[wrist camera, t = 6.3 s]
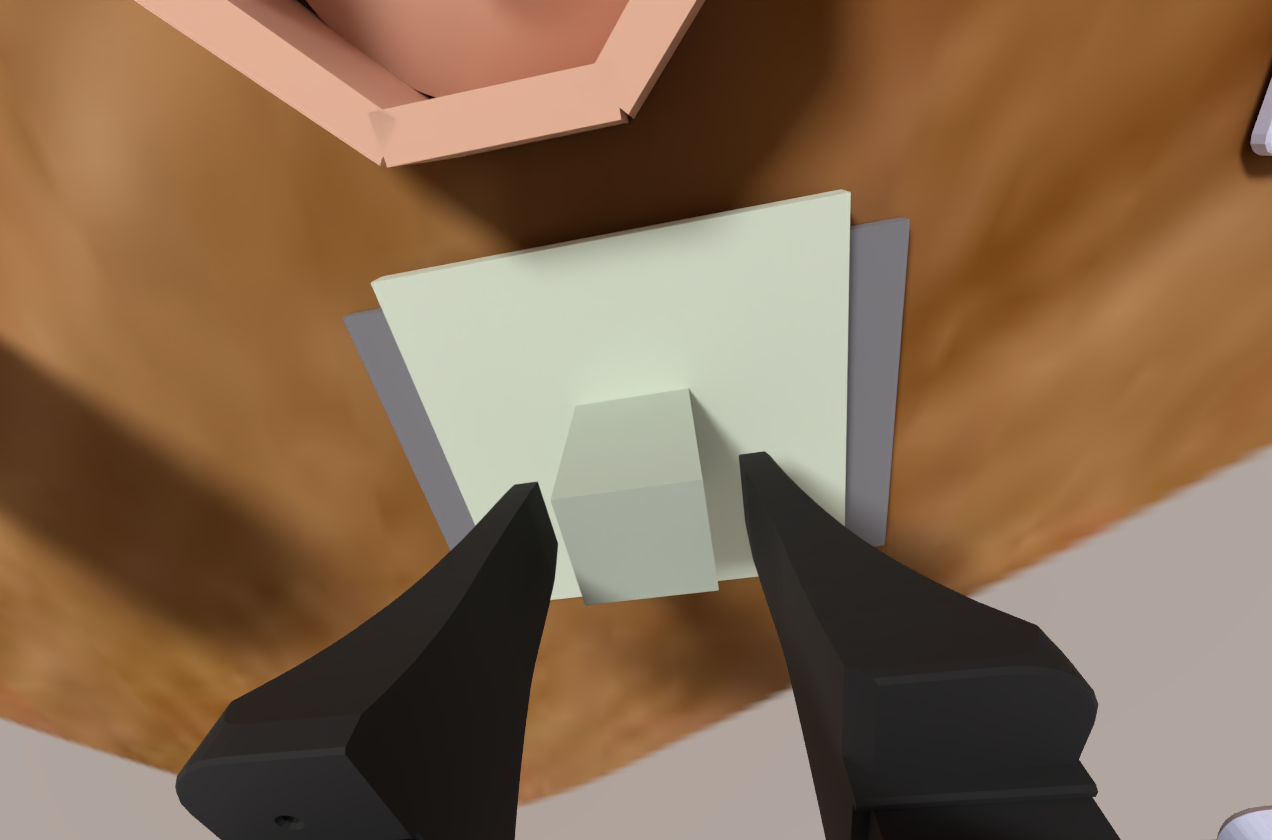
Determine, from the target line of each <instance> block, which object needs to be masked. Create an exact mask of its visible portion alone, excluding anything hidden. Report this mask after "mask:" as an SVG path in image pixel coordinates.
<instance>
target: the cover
mask: <svg viewBox="0 0 1272 840" xmlns="http://www.w3.org/2000/svg"><path fill="white" fill-rule="evenodd" d="M850 196H851V192H848V191H845V190H842V189H841V190H835V191H830V192H825V193H820V194H814V195H809V196H804V197H799V198H793V199H788V200H783V201H778V202H772V203H767V204H762V205H756V206H751V207H746V208H741V209H735V210H730V211H725V212H720V213H714V214H709V215H704V216H699V217H693V218H688V219H683V220H677V221H672V222H667V223H662V224H656V225H651V226H646V227H641V228H635V229H630V230H625V231H619V232H614V233H609V234H604V235H598V236H593V237H588V238H583V239H577V240H572V241H567V242H562V243H556V244H551V245H546V246H540V247H535V248H530V249H525V250H519V251H514V252H509V253H504V254H498V255H493V256H488V257H482V258H477V259H472V260H467V261H461V262H456V263H451V264H446V265H440V266H435V267H430V268H425V269H419V270H414V271H409V272H403V273H398V274H393V275H388V276H382V277H380V278H378V279H377V280H375V281H373V282H371V285H372V287H373V290H374V292H375V294H376V297H377V299H378V301H379V304H380V306H381V308H382V310H383V313H384V315H385V317H386V320H387V322H388V324H389V327H390V329H391V331H392V334H393V336H394V338H395V341H396V343H397V345H398V348H399V350H400V352H401V354H402V357H403V359H404V361H405V364H406V366H407V368H408V371H409V373H410V375H411V378H412V380H413V382H414V385H415V387H416V389H417V392H418V394H419V396H420V399H421V401H422V403H423V405H424V408H425V410H426V412H427V415H428V417H429V419H430V422H431V424H432V426H433V429H434V431H435V433H436V436H437V438H438V440H439V443H440V445H441V447H442V449H443V452H444V454H445V456H446V459H447V461H448V463H449V466H450V468H451V470H452V473H453V475H454V477H455V480H456V482H457V484H458V487H459V489H460V491H461V494H462V496H463V498H464V500H465V503H466V505H467V507H468V510H469V512H470V514H471V517H472V519H473V521H474V524H475V526H476V524H477V523H478V522H479V521H480V520H481V519H482V518H483V517H484V516H485V515H486V514H487V513H488V512H489V511H490V509H491V508H492V507H493V506H494V505H495V504H496V503H497V502H498V501H499V500H500V499H501V497H502V496H503V495H504V494H505V493H506V492H507V491H508V490H509V489H510V488H511V487H512V486H513V485H515V484H523V483H530V482H538V484H539V487H540V490H541V493H542V496H543V499H544V502H545V505H546V508H547V511H548V514H549V517H550V520H551V523H552V526H553V529H554V532H555V536H556V539H557V542H558V552H557V564H556V573H555V581H554V586H553V591H552V595H551V599H550V600H555V599H564V598H573V597H581V596H582V597H583V600H584V603H585V605H592V604H601V603H610V602H619V601H628V600H637V599H645V598H654V597H663V596H672V595H681V594H690V593H699V592H708V591H717V590H719V587H718V581H722V580H731V579H740V578H748V577H757V576H758V573H757V570H756V567H755V564H754V561H753V557H752V553H751V548H750V543H749V539H748V534H747V529H746V524H745V517H744V506H743V496H742V485H741V474H740V464H739V455H740V454H748V453H755V452H763V451H765V452H766V453H768V454H769V455H770V456H771V457H772V458H773V460H774V461H775V462H776V463H777V464H778V465H779V466H780V467H781V469H782V470H783V471H784V472H785V473H786V474H787V475H788V476H789V477H790V478H791V479H792V480H793V481H794V482H795V483H796V484H797V485H798V486H799V487H800V488H801V489H802V490H803V491H804V492H805V493H806V494H807V495H808V496H810V497H811V498H812V499H813V500H814V501H815V502H816V503H817V504H818V505H819V506H821V507H822V508H823V509H824V510H825V511H826V512H828V513H829V514H830V515H831V516H832V517H834V518H835V519H836V520H837V521H839V522H840V523H841V524H842V525H844V526H845V483H846V426H847V368H848V311H849V253H850Z"/></svg>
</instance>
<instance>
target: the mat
mask: <svg viewBox="0 0 1272 840" xmlns="http://www.w3.org/2000/svg"><path fill="white" fill-rule="evenodd" d="M909 228H910V219H907V218H904V217H900V218H894V219H888V220H882V221H877V222H871V223H865V224H860V225H854V226H850V253H849V311H848V368H847V426H846V483H845V527H846V528H848V529H849V530H850V531H852V532H853V533H854V534H856V535H857V536H858V537H860V538H861V539H863V540H864V541H866V542H867V543H869V544H870V545H871V546H873V547H877V546H885V537H886V525H887V512H888V499H889V486H890V473H891V460H892V447H893V434H894V421H895V409H896V396H897V383H898V370H899V357H900V344H901V331H902V318H903V306H904V293H905V280H906V267H907V254H908V241H909ZM342 319H343V321H344V323H345V325H346V327H347V329H348V332H349V334H350V336H351V338H352V340H353V342H354V344H355V347H356V349H357V351H358V353H359V355H360V357H361V359H362V362H363V364H364V366H365V368H366V370H367V372H368V374H369V377H370V379H371V381H372V383H373V385H374V387H375V389H376V392H377V394H378V396H379V398H380V400H381V402H382V404H383V407H384V409H385V411H386V413H387V415H388V417H389V419H390V422H391V424H392V426H393V428H394V430H395V432H396V434H397V437H398V439H399V441H400V443H401V445H402V447H403V449H404V452H405V454H406V456H407V458H408V460H409V462H410V464H411V467H412V469H413V471H414V473H415V475H416V477H417V479H418V482H419V484H420V486H421V488H422V490H423V492H424V494H425V497H426V499H427V501H428V503H429V505H430V507H431V509H432V512H433V514H434V516H435V518H436V520H437V522H438V524H439V527H440V529H441V531H442V533H443V535H444V537H445V539H446V542H447V544H448V546H449V548H450V550H452V549H453V548H454V547H455V546H456V545H457V544H458V543H459V542H460V541H461V540H462V539H463V538H464V537H465V536H466V535H467V534H468V533H469V532H470V531H471V530H472V529H473V528H474V527H475V524H474V521H473V519H472V517H471V514H470V512H469V510H468V507H467V505H466V503H465V500H464V498H463V496H462V494H461V491H460V489H459V487H458V484H457V482H456V480H455V477H454V475H453V473H452V470H451V468H450V466H449V463H448V461H447V459H446V456H445V454H444V452H443V449H442V447H441V445H440V443H439V440H438V438H437V436H436V433H435V431H434V429H433V426H432V424H431V422H430V419H429V417H428V415H427V412H426V410H425V408H424V405H423V403H422V401H421V399H420V396H419V394H418V392H417V389H416V387H415V385H414V382H413V380H412V378H411V375H410V373H409V371H408V368H407V366H406V364H405V361H404V359H403V357H402V354H401V352H400V350H399V348H398V345H397V343H396V341H395V338H394V336H393V334H392V331H391V329H390V327H389V324H388V322H387V320H386V317H385V315H384V313H383V310H382V308H379V309H374V310H368V311H362V312H356V313H351V314H349V315H347V316H345V317H344V318H342Z"/></svg>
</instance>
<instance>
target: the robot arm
mask: <svg viewBox="0 0 1272 840" xmlns="http://www.w3.org/2000/svg"><path fill="white" fill-rule="evenodd" d="M1250 144H1251V147H1252V150H1253V152H1255V153H1256V154H1258V155H1264V156H1272V78H1271V81H1270V84H1269V87H1268V90H1267V93H1266V95H1265V98H1264V101H1263V104H1262V107H1261V110H1260V112H1259V115H1258V118H1257V121H1256V124H1255V127H1254V129H1253V132H1252V136H1251V142H1250ZM739 464H740V474H741V485H742V496H743V506H744V517H745V524H746V529H747V534H748V539H749V543H750V548H751V553H752V557H753V561H754V564H755V567H756V570H757V573H758V576H759V579H760V582H761V585H762V588H763V591H764V594H765V597H766V600H767V603H768V606H769V609H770V612H771V615H772V618H773V621H774V624H775V627H776V630H777V633H778V636H779V638H780V641H781V645H782V648H783V652H784V655H785V659H786V662H787V667H788V671H789V675H790V680H791V684H792V688H793V693H794V697H795V701H796V705H797V710H798V714H799V719H800V723H801V727H802V732H803V736H804V741H805V745H806V750H807V754H808V759H809V763H810V768H811V773H812V777H813V782H814V786H815V791H816V795H817V800H818V805H819V809H820V814H821V818H822V823H823V828H824V833H825V837H826V840H1120V838H1119V837H1118V835H1117V834H1116V832H1115V831H1114V829H1113V828H1112V826H1111V825H1110V823H1109V822H1108V820H1107V819H1106V817H1105V816H1104V814H1103V813H1102V811H1101V810H1100V808H1099V807H1098V805H1097V804H1096V802H1095V801H1094V799H1093V798H1092V797H1096V795H1097V793H1098V790H1097V787H1096V784H1095V782H1094V781H1093V780H1092V778H1091V777H1090V775H1089V774H1088V773H1087V771H1086V769H1085V768H1084V767H1083V765H1082V764H1081V762H1080V761H1079V758H1080V755H1081V753H1082V751H1083V748H1084V746H1085V744H1086V741H1087V739H1088V737H1089V734H1090V732H1091V730H1092V728H1093V725H1094V722H1095V718H1096V714H1097V708H1098V702H1097V700H1096V697H1095V694H1094V691H1093V689H1092V688H1091V687H1090V685H1089V684H1088V683H1087V682H1086V680H1085V679H1084V678H1083V677H1082V675H1081V674H1080V673H1079V672H1078V671H1077V669H1076V668H1075V667H1074V665H1073V664H1072V663H1071V662H1070V661H1069V659H1068V658H1067V657H1066V656H1065V655H1064V653H1063V652H1062V651H1061V650H1060V649H1059V648H1058V647H1057V646H1056V645H1055V644H1054V643H1053V642H1052V641H1051V640H1050V639H1049V638H1048V637H1047V636H1046V634H1045V633H1044V632H1043V631H1042V630H1041V629H1040V628H1039V627H1038V626H1037V625H1035V624H1032V623H1030V622H1027V621H1025V620H1022V619H1020V618H1017V617H1014V616H1012V615H1010V614H1007V613H1005V612H1002V611H1000V610H997V609H995V608H992V607H989V606H987V605H984V604H982V603H979V602H977V601H975V600H973V599H970V598H968V597H966V596H964V595H962V594H960V593H957V592H955V591H953V590H951V589H949V588H947V587H945V586H943V585H940V584H938V583H936V582H934V581H933V580H931V579H929V578H927V577H925V576H923V575H921V574H919V573H917V572H915V571H914V570H912V569H910V568H908V567H907V566H905V565H903V564H901V563H899V562H898V561H896V560H894V559H892V558H891V557H889V556H887V555H886V554H884V553H882V552H881V551H879V550H878V549H876V548H874V547H873V546H871V545H870V544H869V543H867V542H866V541H864V540H863V539H861V538H860V537H858V536H857V535H856V534H854V533H853V532H852V531H850V530H849V529H848V528H846V527H845V526H844V525H842V524H841V523H840V522H839V521H837V520H836V519H835V518H834V517H832V516H831V515H830V514H829V513H828V512H826V511H825V510H824V509H823V508H822V507H821V506H819V505H818V504H817V503H816V502H815V501H814V500H813V499H812V498H811V497H810V496H808V495H807V494H806V493H805V492H804V491H803V490H802V489H801V488H800V487H799V486H798V485H797V484H796V483H795V482H794V481H793V480H792V479H791V478H790V477H789V476H788V475H787V474H786V473H785V472H784V471H783V470H782V469H781V467H780V466H779V465H778V464H777V463H776V462H775V461H774V460H773V458H772V457H771V456H770V455H769V454H768V453H766V452H765V451H763V452H755V453H748V454H740V455H739ZM557 552H558V542H557V539H556V536H555V532H554V529H553V526H552V523H551V520H550V517H549V514H548V511H547V508H546V505H545V502H544V499H543V496H542V493H541V490H540V487H539V484H538V482H530V483H523V484H515V485H513V486H512V487H511V488H510V489H509V490H508V491H507V492H506V493H505V494H504V495H503V496H502V497H501V499H500V500H499V501H498V502H497V503H496V504H495V505H494V506H493V507H492V508H491V509H490V511H489V512H488V513H487V514H486V515H485V516H484V517H483V518H482V519H481V520H480V521H479V522H478V523H477V524H476V526H475V527H474V528H473V529H472V530H471V531H470V532H469V533H468V534H467V535H466V536H465V537H464V538H463V539H462V540H461V541H460V542H459V543H458V544H457V545H456V546H455V547H454V548H453V549H452V550H451V551H450V552H449V553H448V554H447V555H446V556H445V557H444V558H443V559H442V560H441V561H440V562H439V563H438V564H437V565H436V566H435V567H434V568H432V569H431V570H430V571H429V572H428V573H427V574H426V575H425V576H423V577H422V578H421V579H420V580H419V581H418V582H417V583H415V584H414V585H413V586H412V587H411V588H409V589H408V590H407V591H406V592H404V593H403V594H402V595H401V596H400V597H398V598H397V599H396V600H395V601H393V602H392V603H391V604H389V605H388V606H387V607H385V608H384V609H382V610H381V611H380V612H378V613H377V614H376V615H374V616H373V617H371V618H370V619H369V620H367V621H366V622H364V623H363V624H362V625H360V626H359V627H358V628H356V629H355V630H353V631H352V632H350V633H349V634H348V635H346V636H344V637H343V638H341V639H340V640H338V641H337V642H335V643H334V644H332V645H331V646H329V647H328V648H326V649H324V650H323V651H321V652H319V653H318V654H316V655H314V656H313V657H311V658H310V659H308V660H306V661H305V662H303V663H301V664H300V665H298V666H296V667H294V668H293V669H291V670H289V671H287V672H286V673H284V674H282V675H280V676H278V677H276V678H275V679H273V680H271V681H269V682H267V683H265V684H264V685H262V686H260V687H258V688H256V689H254V690H253V691H251V692H249V693H247V694H245V695H243V696H241V697H239V698H237V699H235V700H234V701H232V702H231V703H230V704H229V706H228V707H227V708H226V710H225V711H224V712H223V714H222V715H221V717H220V718H219V719H218V721H217V722H216V723H215V725H214V726H213V728H212V729H211V730H210V732H209V733H208V734H207V736H206V737H205V738H204V740H203V741H202V743H201V744H200V745H199V747H198V748H197V749H196V751H195V752H194V754H193V755H192V756H191V758H190V759H189V760H188V762H187V763H186V765H185V766H184V767H183V769H182V770H181V771H180V773H179V774H178V776H177V779H176V786H175V787H176V792H177V795H178V797H179V799H180V802H181V804H182V805H183V806H184V807H185V808H186V809H187V810H188V811H189V813H190V814H191V815H193V816H194V817H195V818H196V819H197V820H199V821H200V822H201V823H202V824H203V825H204V826H206V827H207V828H208V829H209V830H210V831H212V832H213V833H214V834H215V835H216V836H217V837H219V838H220V839H221V840H514V839H515V826H516V814H517V804H518V793H519V781H520V771H521V762H522V753H523V744H524V735H525V726H526V718H527V711H528V703H529V696H530V688H531V682H532V677H533V672H534V667H535V662H536V658H537V654H538V650H539V645H540V641H541V637H542V633H543V629H544V625H545V620H546V616H547V612H548V608H549V603H550V599H551V595H552V591H553V586H554V581H555V573H556V564H557ZM1217 840H1272V806H1262V807H1255V808H1249V809H1246V810H1243V811H1240V812H1238V813H1235V814H1233V815H1232V816H1231V817H1229V818H1228V819H1227V820H1226V821H1225V822H1224V823H1223V825H1222V826H1221V828H1220V831H1219V832H1218V836H1217Z"/></svg>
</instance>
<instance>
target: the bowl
mask: <svg viewBox="0 0 1272 840" xmlns="http://www.w3.org/2000/svg"><path fill="white" fill-rule="evenodd" d="M134 1H136V2H137V3H139V4H140V5H142V6H143V7H145V8H146V9H148V10H149V11H151V12H152V13H154V14H155V15H157V16H158V17H160V18H161V19H163V20H164V21H166V22H167V23H168V24H170V25H171V26H173V27H174V28H176V29H177V30H179V31H180V32H182V33H183V34H185V35H186V36H188V37H189V38H191V39H192V40H194V41H195V42H197V43H198V44H200V45H201V46H203V47H204V48H206V49H207V50H209V51H210V52H212V53H213V54H215V55H216V56H217V57H219V58H220V59H222V60H223V61H225V62H226V63H228V64H229V65H231V66H232V67H234V68H235V69H237V70H238V71H240V72H241V73H243V74H244V75H246V76H247V77H249V78H250V79H252V80H253V81H255V82H256V83H258V84H259V85H261V86H262V87H264V88H265V89H266V90H268V91H269V92H271V93H272V94H274V95H275V96H277V97H278V98H280V99H281V100H283V101H284V102H286V103H287V104H289V105H290V106H292V107H293V108H295V109H296V110H298V111H299V112H301V113H302V114H304V115H305V116H307V117H308V118H310V119H311V120H312V121H314V122H315V123H317V124H318V125H320V126H321V127H323V128H324V129H326V130H327V131H329V132H330V133H332V134H333V135H335V136H336V137H338V138H339V139H341V140H342V141H344V142H345V143H347V144H348V145H350V146H351V147H353V148H354V149H356V150H357V151H359V152H360V153H361V154H363V155H364V156H366V157H367V158H369V159H370V160H372V161H373V162H375V163H376V164H378V165H379V166H380V165H387V167H395V166H402V165H409V164H417V163H424V162H432V161H439V160H446V159H454V158H459V157H464V156H469V155H474V154H479V153H484V152H489V151H494V150H499V149H504V148H508V147H513V146H518V145H523V144H528V143H533V142H538V141H543V140H548V139H553V138H558V137H562V136H567V135H572V134H577V133H582V132H587V131H592V130H597V129H602V128H607V127H611V126H616V125H621V124H626V123H629V122H628V115H629V116H630V117H632V118H633V119H634V118H635V116H636V115H637V113H638V111H639V110H640V108H641V106H642V105H643V103H644V101H645V100H646V98H647V97H648V95H649V93H650V92H651V90H652V88H653V87H654V85H655V83H656V82H657V80H658V78H659V77H660V75H661V73H662V72H663V70H664V68H665V67H666V65H667V63H668V62H669V60H670V58H671V57H672V55H673V53H674V52H675V50H676V48H677V47H678V45H679V43H680V42H681V40H682V38H683V37H684V35H685V33H686V32H687V30H688V29H689V27H690V25H691V24H692V22H693V20H694V19H695V17H696V15H697V14H698V12H699V10H700V9H701V7H702V5H703V4H704V2H705V0H306V1H307V3H308V4H309V5H310V6H311V7H312V9H313V10H314V11H315V12H316V14H317V15H318V16H317V15H316V14H315V13H313V12H312V11H310V10H309V9H308V8H306V7H305V6H304V5H302V4H301V3H299V2H298V1H297V0H134ZM425 94H427V95H430V96H433V97H436V98H433V99H431V98H430V97H428V96H427V95H425ZM627 114H628V115H627Z"/></svg>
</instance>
